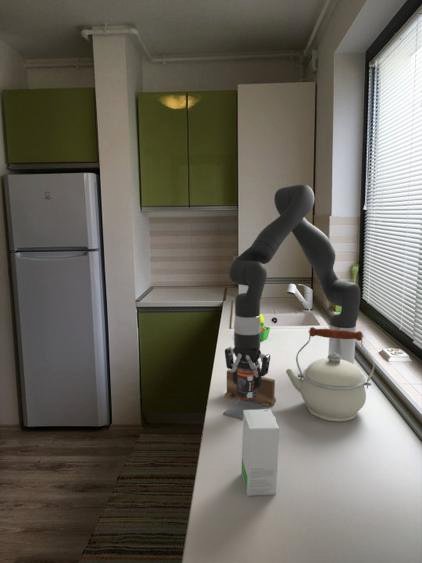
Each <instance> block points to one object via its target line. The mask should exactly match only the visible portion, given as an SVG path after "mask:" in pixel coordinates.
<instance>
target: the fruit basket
mask: <svg viewBox="0 0 422 563" xmlns="http://www.w3.org/2000/svg"><path fill="white" fill-rule="evenodd" d="M264 319H265V318H264V315H263V314H262V313H260V322H261V328H260V342H264V341H267V339H268V337H269V334H270V331H271V327H269V326H264V324H265V320H264Z"/></svg>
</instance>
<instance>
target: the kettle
mask: <svg viewBox="0 0 422 563" xmlns="http://www.w3.org/2000/svg"><path fill="white" fill-rule="evenodd" d="M308 334H309V339H308V340H307V342H306V343H305V344H303V345H302V347H301V348H299V350H298V351H297V354H296V357H295V362H296V367H297V369H298V371H299V373H298V374H297V375H296V374H295V373H294V371H293V369H292V368H287V369H285V371H284V372H285V373H286V376H288V378H289V380H290V382H291V384H292V385H293V387H294V388H295V390H296V391H297V392H298V393H300V395H301V397H302V400H303V402H304V403H305V404H306V406H307V410H308V411H309V413H310V414H312V415H313V416H314V417H317V418H319V419H321V420H324V421H330V422H348V421H351V420H353V419H354V418H355V417H357V415H358V412H359V411H360V410H361V409H363V407H364V405H365V403H366V399H367V393H366V389H368V388H369V386H372V383H371V382H369V381H370V380H371V378H372V376H373V374H374V372H375V361H374V359H373V357H372V355H371V354H370V353H369V351H368V350H367V349H366V348H365V346H364V345H363V338H364V334H363V331H360V330H357V331H356V332H351V331H346V330H336V329H335V330H334V329H329V328H316V327H315V326H313V327H312V326H311V327H309V330H308ZM315 336H316V337H321V338H322V337H323V338H326V339H327V338H328V339H329V338H337V339H339V338H340V339H355V341H356V340H357V341H361V342H360V345H361V348H362V349H363V351H364V352H365V353H366V354H367V356H368V357H369V358H370V360H371V363H372V368H371V372H370V374H369V375H368V378H367V379H366V377H365V376H364V374H362V372H361V370H360V368H359V367H357V365H355V363H354V364H352V363H350V362H348V361H345V360H342V358H341V357H340V355H339V354H337V353H335V352H334V353H332V354H330V355H329V356H328V355H327V357H326V358H324V357H323V358H320V359H316V360H314V361H312V362H311V363H310V364H309V365H308V366H307V368H305V369H304V370H303V372H302V370H301V366H300V363H299V354H300V353H301V351H302V350H303V349H304V348H306V346H307V345H308V344H309V343H310V341H311V338H313V337H315Z"/></svg>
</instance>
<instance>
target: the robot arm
mask: <svg viewBox="0 0 422 563" xmlns="http://www.w3.org/2000/svg"><path fill="white" fill-rule="evenodd" d="M273 198H274V200H273V201H274V206H275V208H276V210H277V212H278V215H279V216H278V217H277V218H276V219H274V220H272V221H271V223H269V224H268V225H267V226H265V227H264V228H263V229H262V230H261V231H260V233H259V234H258V235H257V237H256V238H255V239H254V241H253V242H252V244H251V246H250V247H249V248H247V249H245V250H244V251H243V252H242V253H240V254H239V255H238V257H236V258H235V259H234V260H233V262H232V263H231V265H230V267H229V272H228V273H229V274H228V275H229V279H230V281H231V282H232V283H233V284H236V285H239V286H240V285H241V286H247V290H246V292H244V293H238V294H237V295H236V296H235V300H234V302H235V303H234V320H233V322H234V323H233V345H234V347H231V346H229V347H227V348H225V349H224V356H225V365H226V366H225V367H226V368H227V370H229V369H230V370H232V371H233V382H234V384H237V368H238V367H239V366H240V361H245V362H248V363H249V365H250V368H251V370H253V372H254V375H255V377H254V389H258V388H259V387H260V386H261V377H265V376H266V375H267V374H268V373H269V368H270V363H271V362H270V361H271V355H270V354H269V353H268V354H264V353H262V351H261V341H260V328H261V322H260V314H261V298H262V296H263V292H264V288H265V285H266V282H267V275H268V274H267V269H266V267H265V264H269V263H270V262H271V261H272V259H273V258H274V256H275V255H276V253H277V251H278V250H279V248H280V246H281V245H282V244H283V243H284V241H285V240H286V238H287V237H288V236H289V235H290V233H292V234H293V236H294V237H295V239H296V241H297V242H298V244H299V246H300V248H301V250H302V251H303V253H304V255H305V257H306V259H307V261H308V263H309V264H310V266H311V267H312V269H313V272H314V273H315V275H316V277H317V279H318V281H319V283H320V286H321V288H322V291H323V293H324V297H325V298H326V300H327V301H328V303H329V304H331V305H333V306H337V307H341V310H340V313H337V314H334V315H333V314H332V315H331V316H330V318H329V328H328V329H334V330H335V329H336V330H346V331H351V332H357V321H358V318H359V315H360V314H359V312H360V303H361V288H360V286H359V284H357V283H355V282H351V281H346V280H345V281H344V280H340V279H339V277H338V276H337V274H336V273H335V270H334V265H335V262H336V251H335V249H334V246H333V244H332V243H331V241H330V239H329V237H328V236H327V235H326V234H325V233H324V232H323V231H322V230H321V229H319V227H316V226H315V225H313V224H312V223H311V222H309V221H308V220H307V218H306V216H307V215H308V214H309V213H310V212H311V211H312V209H313V207H314V204H315V194H314V191H313V189H312V187H310V185H307V184H296V185H289V186H286V187H281V188H278V190H276V192H275V193H274V196H273ZM355 348H356V339H340V338H339V339H337V338H328V353H327V354H328V355H327V357H328V356H329V355H330V354H332V353H334V352H335V353H337V354H339V355H340V357H341V358H342V360H345V361H348V362H350V363H352V364H354V365H355V353H356V352H355V351H356V349H355ZM234 356H235V358H236V359H235V360H234ZM259 359H260V361H259ZM260 362H261V364H260Z"/></svg>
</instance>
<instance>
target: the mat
mask: <svg viewBox="0 0 422 563" xmlns="http://www.w3.org/2000/svg"><path fill="white" fill-rule="evenodd" d="M260 409H270V407H265V406H262V404H261V405H260V404H259V403H255V402H251V401H245V400H241V399H238V400H237V401H236V402H235V403H233V404H232V405H231V406H229V407H228V408H227V409H226V410H224V411H223V412H222V415H223V416H227V417H231V418H234V419H237V420H240V421H243V410H260Z"/></svg>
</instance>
